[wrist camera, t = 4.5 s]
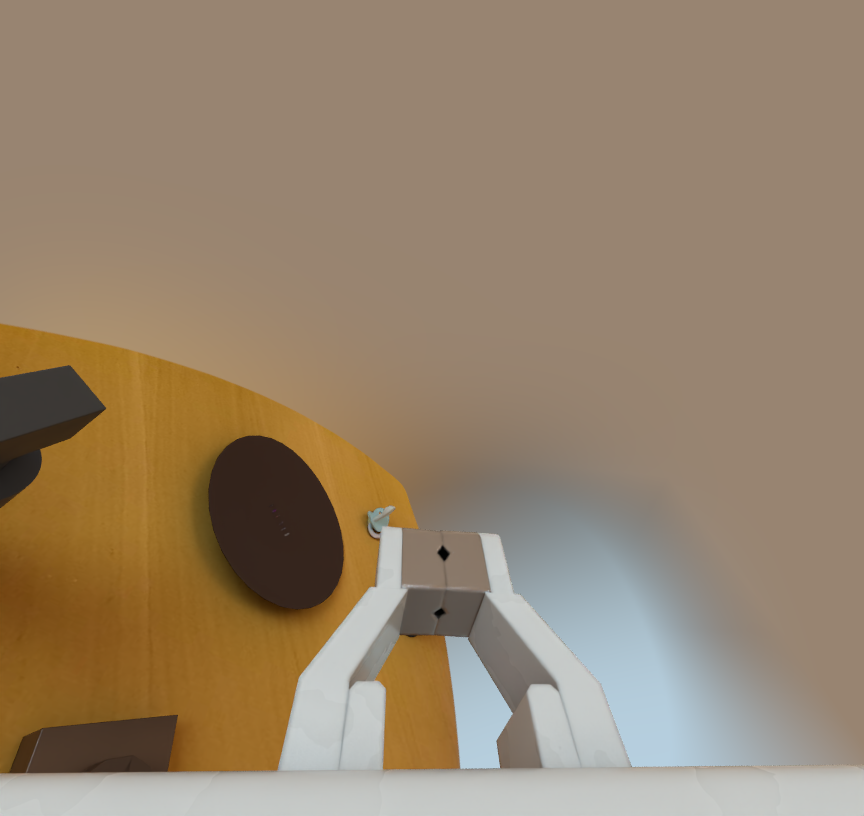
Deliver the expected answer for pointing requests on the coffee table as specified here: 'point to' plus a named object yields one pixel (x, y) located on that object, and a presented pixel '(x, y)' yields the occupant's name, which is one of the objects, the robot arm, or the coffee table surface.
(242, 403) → the coffee table surface
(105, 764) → the button block
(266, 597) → the plate
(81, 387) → the spray bottle
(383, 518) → the pacifier
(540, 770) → the robot arm
